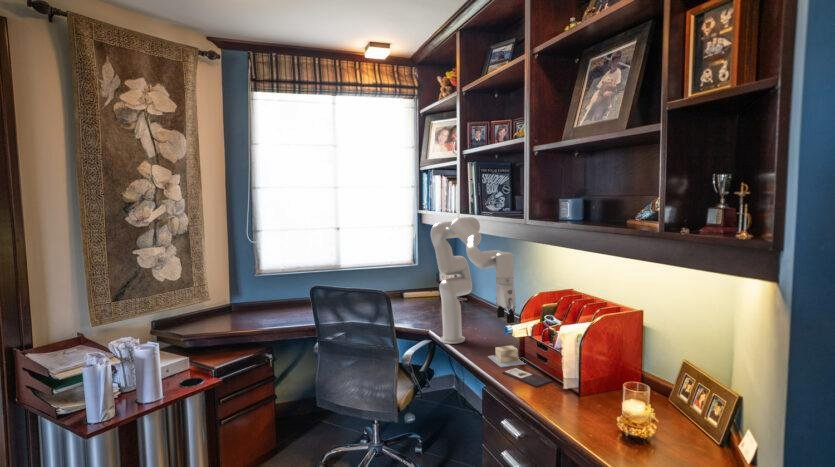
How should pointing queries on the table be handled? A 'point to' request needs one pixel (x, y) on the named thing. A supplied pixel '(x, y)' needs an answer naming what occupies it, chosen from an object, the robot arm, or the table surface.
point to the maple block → (506, 353)
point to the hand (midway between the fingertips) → (505, 320)
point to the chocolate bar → (527, 377)
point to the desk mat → (506, 364)
